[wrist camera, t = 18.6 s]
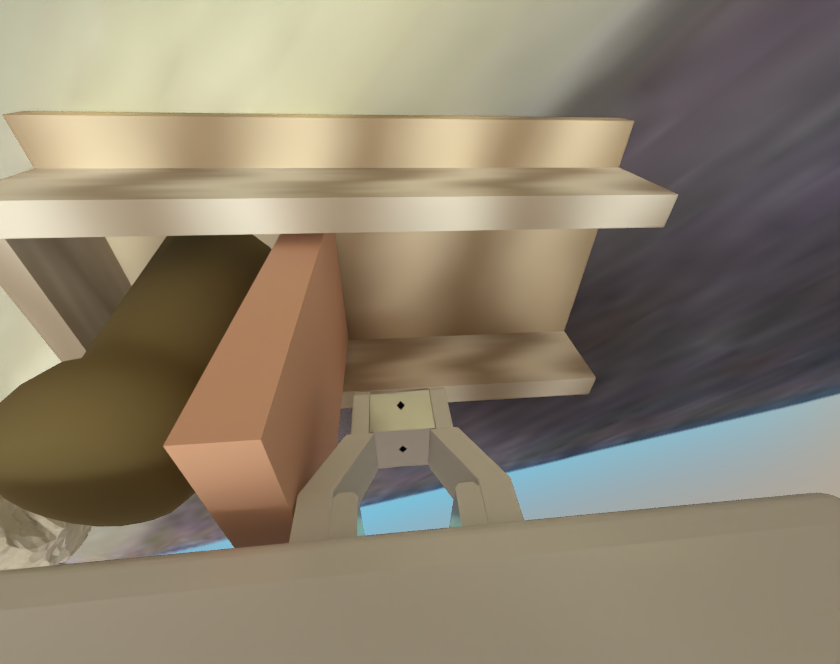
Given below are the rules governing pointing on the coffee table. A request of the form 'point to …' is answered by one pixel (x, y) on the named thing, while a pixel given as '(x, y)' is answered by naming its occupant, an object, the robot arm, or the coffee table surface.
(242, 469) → the block
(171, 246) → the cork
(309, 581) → the robot arm
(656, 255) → the coffee table surface
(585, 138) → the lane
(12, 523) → the fossil replica
